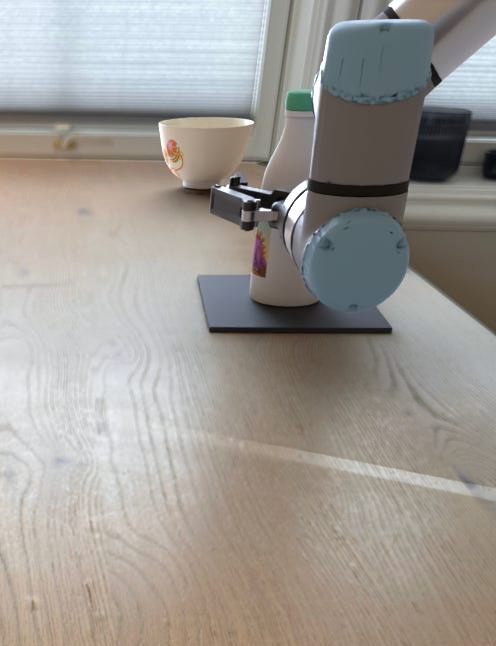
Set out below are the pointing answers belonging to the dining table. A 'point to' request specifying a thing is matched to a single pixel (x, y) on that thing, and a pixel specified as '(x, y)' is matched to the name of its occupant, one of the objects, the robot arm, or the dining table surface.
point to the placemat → (276, 311)
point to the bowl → (204, 148)
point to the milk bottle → (286, 172)
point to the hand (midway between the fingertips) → (293, 185)
